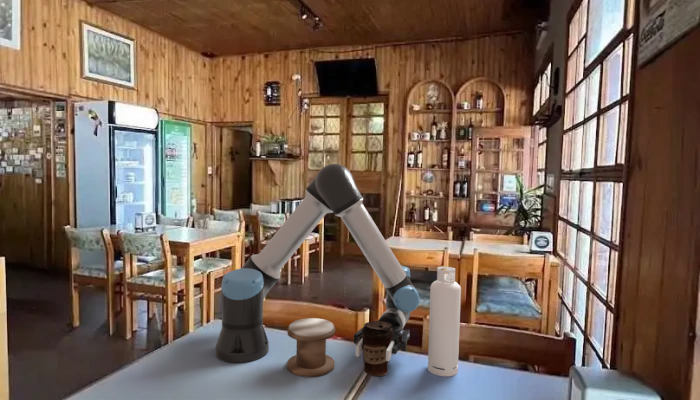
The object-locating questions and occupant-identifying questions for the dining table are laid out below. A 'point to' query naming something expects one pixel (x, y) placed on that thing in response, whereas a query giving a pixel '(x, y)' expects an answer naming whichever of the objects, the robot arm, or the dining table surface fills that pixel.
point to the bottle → (444, 323)
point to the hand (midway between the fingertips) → (372, 353)
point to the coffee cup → (376, 347)
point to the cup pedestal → (311, 347)
